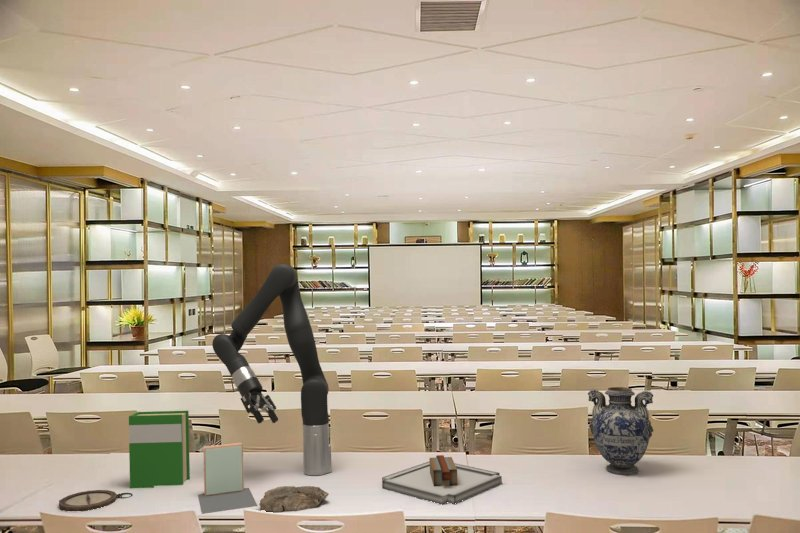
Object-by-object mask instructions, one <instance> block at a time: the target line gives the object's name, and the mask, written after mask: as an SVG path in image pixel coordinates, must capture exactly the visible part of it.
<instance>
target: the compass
mask: <svg viewBox="0 0 800 533" xmlns="http://www.w3.org/2000/svg"><path fill="white" fill-rule="evenodd" d="M123 495H124V496H123ZM125 495H129V496H125ZM133 496H134V495H133V493H131V492H122V493H118V494H117V493H116V492H115V491H113V490H109V489H108V490H107V489H96V490H95V489H94V490H85V491H79V492H76V493H72V494H69V495H67V496H64V497H63V498H61V499H59V501H58V507H60V508H59V509H60V510H61V511H63V510H66V511H65V512H67V511H81V512H87V511H88V510H89V511H92V510H93V509H94V510H98V509H97V508H99V509H101V507H102V508H104V506H105V507H107V506H110V505H112V504H113V503H115V502H116V500H117V499H127V498H132V497H133ZM89 511H88V512H89Z"/></svg>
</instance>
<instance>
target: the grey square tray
mask: <svg viewBox="0 0 800 533" xmlns="http://www.w3.org/2000/svg"><path fill="white" fill-rule="evenodd" d="M502 480H503V476H502V475H500V472H497V471H492V470H487V469H483V468H478V467H474V466H469V465H464V464H461V463H455V462H454V459H453V457H452V456H444V455H443V454H441V455H440V454H439V455H435V457H429V460H428V461H427V462H423V463H421V464H418V465H415V466H411V467H408V468H405V469H402V470H400V471H397V472H394V473H391V474H388V475H385V476H382V477H381V482H382V484H381V486H382V489H384V490H387V491H391V492H393V493H398V494H401V495H404V496H408V497H412V498H415V497H416V499H419V498H420V500H423V499H424V501H426V500H428V501H427V502H430V501H432V502H431V503H434V502H435V503H434V504H437V503H439V504H438V505H441V504H442V505H441V506H443V505H445V503H446V504H447V502H449V503H448V504H451V503H452V504H451V505H456V504H458V502H459V503H461V502H463V501H465V499H466V500H468V499H470V498H472V497H475V496H477V495H479V494H481V493H484V492H486V491H489V490H491V489H493V488H496V487H497V486H500V485H502V484H503V481H502ZM469 497H470V498H469ZM467 498H468V499H467ZM462 500H463V501H462ZM460 501H461V502H460ZM455 503H456V504H455Z"/></svg>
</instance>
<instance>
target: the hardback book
mask: <svg viewBox="0 0 800 533" xmlns="http://www.w3.org/2000/svg"><path fill="white" fill-rule="evenodd" d="M189 412H190V411H189V410H163V411H162V410H159V411H156V410H155V411H152V410H151V411H137V412H134V413H132V414H130V415H129V416H128V436H129V437H128V444H129V445H128V448H129V452H128V453H129V459H128V460H129V489H152V488H153V489H154V488H155V487H158V486H159V487H161V486H162V487H163V486H165V487H166V486H183V485H184V482H185V481H188V480H190V479H191V476H190V475H191V474H190V473H191V472H190V471H191V469H190V426H189V425H190V423H189V422H190V421H189V415H190V414H189Z"/></svg>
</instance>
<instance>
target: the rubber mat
mask: <svg viewBox="0 0 800 533" xmlns="http://www.w3.org/2000/svg"><path fill="white" fill-rule="evenodd" d="M197 497H198V501H199V507H200V512H201V514H202V515H204V514H210V513H211V514H212V513H217V512H225V511H232V510H238V509H245V508H246V509H247V508H253V507H258V504H257V502H256V499H255V497H254V496H253V493H252V491H251V489H250V488H249V487H244V491H240V492H233V493H225V494H218V495H211V496H205V495H204V493H201V494H200V493H199V494H197Z"/></svg>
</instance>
